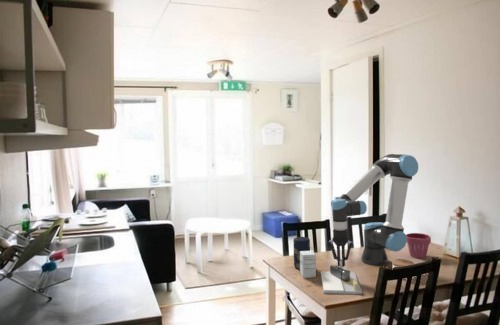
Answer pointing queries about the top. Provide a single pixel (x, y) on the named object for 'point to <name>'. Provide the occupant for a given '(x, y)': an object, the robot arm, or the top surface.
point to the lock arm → (340, 272)
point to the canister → (300, 248)
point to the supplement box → (307, 264)
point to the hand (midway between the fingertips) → (341, 272)
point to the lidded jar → (401, 263)
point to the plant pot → (418, 244)
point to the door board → (340, 284)
